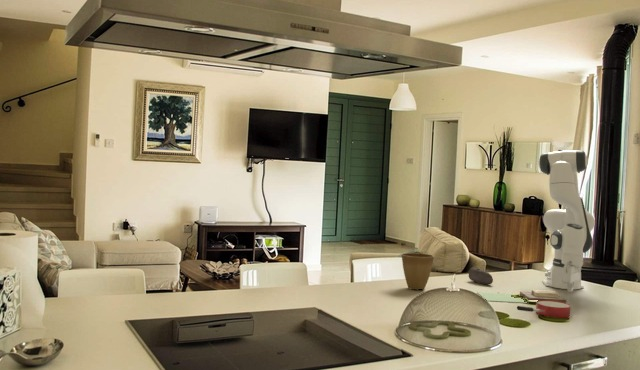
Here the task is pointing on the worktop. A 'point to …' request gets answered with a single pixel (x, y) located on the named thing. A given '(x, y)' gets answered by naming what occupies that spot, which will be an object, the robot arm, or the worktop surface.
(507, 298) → the green mat
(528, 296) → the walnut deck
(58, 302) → the worktop surface
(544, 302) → the red saucepan
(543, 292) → the birch tile
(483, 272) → the grey stone
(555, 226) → the robot arm
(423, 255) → the plant pot
